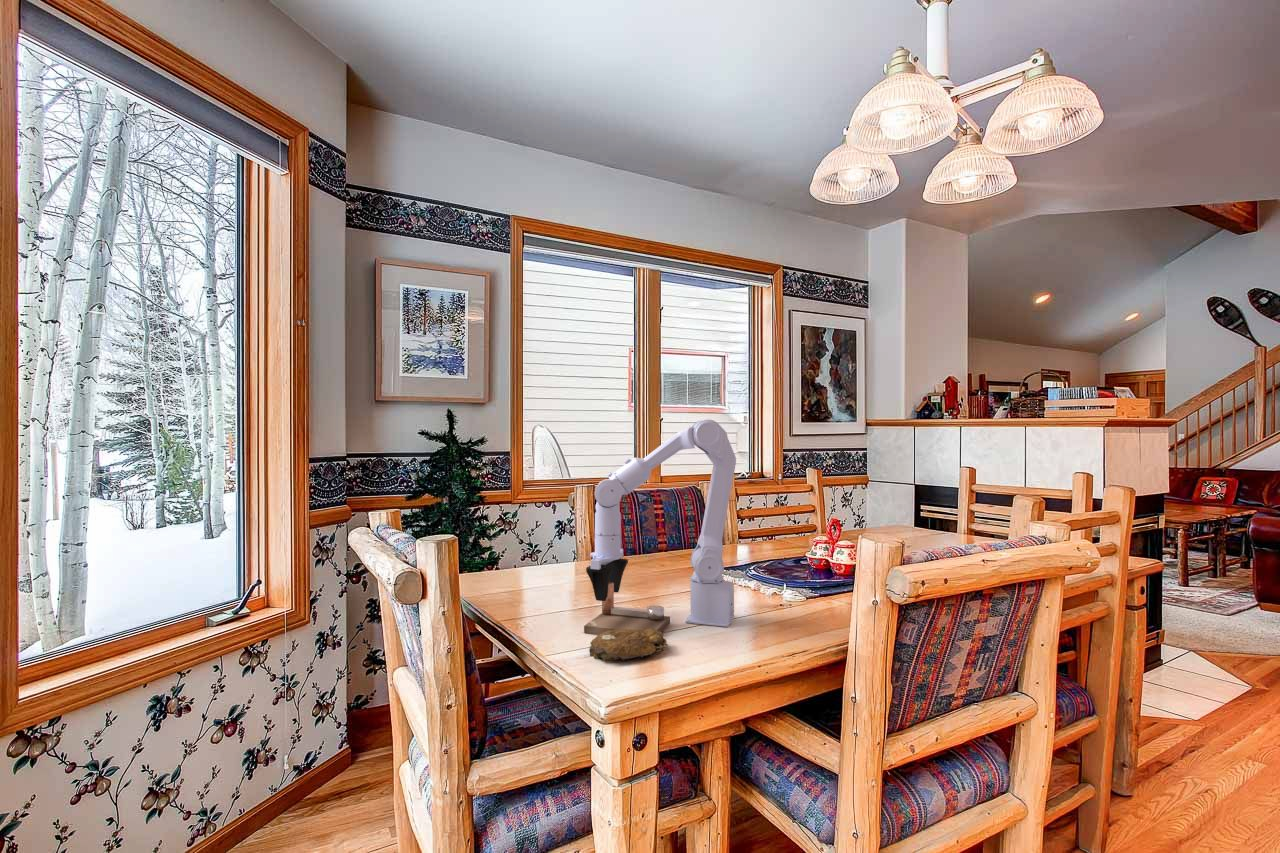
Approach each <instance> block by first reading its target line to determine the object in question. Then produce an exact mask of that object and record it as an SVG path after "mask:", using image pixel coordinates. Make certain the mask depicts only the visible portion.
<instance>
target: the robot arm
mask: <svg viewBox="0 0 1280 853" xmlns="http://www.w3.org/2000/svg"><path fill="white" fill-rule="evenodd" d="M695 448H698V449H699V450H700V451H702V452H704V454H705V455H706V457H707V458H708V459H709V461H710V462H711V463H712V470H711V475H710V481H709V486H708V493H707V499H706V502H705V503H706V504H705V509H704V514H703V520H702V526H701V530H700V531H701V532H700V535H699V536H698V538H697V544H696V547H695V548H694V550H693V551H692V553H691V555H690V563H691V566H692V568H693V569H694V571H693V574H691V575H690V581H689V582H690V615H688V616H687V617H686V619H685V621H684V623H686V624H697V625H706V626H707V625H708V626H715V627H729V626H730V625H731V623H732V622H733V620H734V618H735V617H736V616H735V587H734V582H733V581H730V580H729V581H728V580H724V576H723V574H724V570H725V565H724V561H723V551H724V550H723V547H724V546H723V537H724V536H723V535H724V531H725V525H726V521H727V515H728V509H729V503H730V497H731V492H732V487H733V481H734V475H735V470H736V464H737V457H736V454H735V452H734V450H733V447H732V444H731V443H730V440H729V436H728V433H727V431H726V430H725V429H724V427H722V426H721V425H720V424H719V423H718V422H717V421H715V420H713V419H703V420H698V421H697V422H694V424H692V425H691V426H690V425H689V426H688V427H686V428H684V429H681V430H680V431H678V432H676V433H675V434H673V435H672V436H671V437H669V438H668V439H667V440H666V441H664V442H663V443H662V444H660V445H659V446H658V447H656V448H655V449H654V450H653V451H650V453H649V454H647V455H646V456H645V457H644V458H643V457H642V458H641V457H634V458H632V459H630V458H628V459H626V460H624V463H625V464H623V465H622V466H621V467H619V468H618V469H616V470H615V471H614V472H608V474H607V477H608V479H607V478H606V479H603V480H601V481H600V482H598V484H597V485H596V486H595V489H594V497H595V500H596V504H595V513H594V551H593V552H591V553H589V557H591V558H592V559H591V560H590V565H589V566H587V567H586V568H585V569H586V570H585V573H586V574H587V575H588V577H589V579H590V582H591V586H592V589H593V593H594V598H595V601H599V602H602V601H606V598H607V593H608V584H609V582H614V593H619V591H620V588H621V583H622V579H623V575H624V571H625V569H626V568H627V566H628V563H629V559H628V558H623V557H624V548H622V546H621V545H622V544H621V543H622V531H621V530H622V526H621V525H622V513H621V512H620V509H621V507H620V505H621V504H620V502H621V500H622V496H623V495H624V496H627V495H629V494H631V493H632V492H633V491H635V490H636V489H637V488H639V487H641V485H643V484H644V483H646V482H647V481H648V480H649V479H651V472H652V470H653V469H655V468H656V467H658V466H660V465H661V464H662V463H664V462H665V461H667V460H668V459H670V458H671V457H673V456H674V455H676V454H677V453H678V452H680V451H682V450H691V449H695Z"/></svg>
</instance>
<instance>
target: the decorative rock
mask: <svg viewBox="0 0 1280 853" xmlns="http://www.w3.org/2000/svg"><path fill="white" fill-rule="evenodd" d="M667 642H668V641H667V639H665V638H664V633H663V631H662V632H659V631H657V630H655V629H629V628H628V629H620V630H617V629H615V630H611V631H607V632H604V633H600V634H599V635H597V636H596V637H595V638H593V639H592V640H591V641H590V643H589V645H590V646H589V648H588V649H589V650H588V651H589V657H593V658H594V659H595V658H598V659H599V658H602V660H604V659H605V660H608V659H609V661H615V660H623V662H624V661H625V660H630V659H633V658H639V659H641V658H644V656H645V657H646V656H650V655H652V654H653V653H657V652H661V651H664V649H665V648H666V646H668V643H667ZM605 660H604V661H605Z"/></svg>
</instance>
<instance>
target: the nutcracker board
mask: <svg viewBox="0 0 1280 853" xmlns="http://www.w3.org/2000/svg"><path fill="white" fill-rule="evenodd" d="M670 624H671V616H667V615H664V618H663V619H660V620H652V619H648V618H646V617H636V616H626V615H616V614H603V613H602V612H601V613H600V614H599V615H597V616H596V617H595V618H593V619H592V620H590V621H588V622H587V623H586V624H585V625H583V634H589V635H597V636H598V635H599V634H600V633H604V632H607V631H611V630H615V629H617V630H620V629H628V628H629V629H655V630H657V631H659V632H662V633H663V632H664V631H665V630H666V629H667V628H668V627H669V625H670Z"/></svg>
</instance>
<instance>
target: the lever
mask: <svg viewBox="0 0 1280 853" xmlns="http://www.w3.org/2000/svg"><path fill="white" fill-rule="evenodd" d="M614 604H615V592H614V582H609V584H608V593H607V598H606V601H601V613H603V614H616V615H626V616H636V617H646V618H648V619H652V620H660V619H663V618H664V616H665V607H664V606H662V605H649V606H647V609H643V608H642V609H641V608H632V607H621V606H615V605H614Z"/></svg>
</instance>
